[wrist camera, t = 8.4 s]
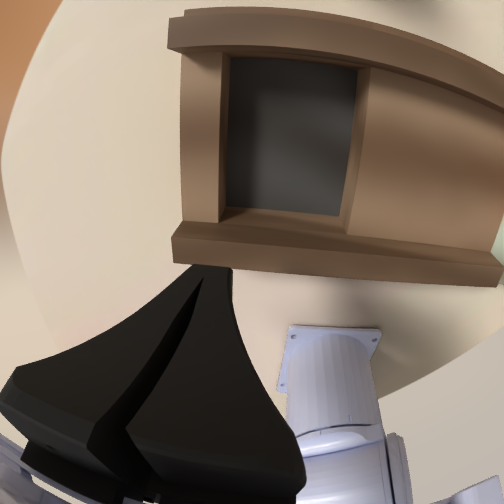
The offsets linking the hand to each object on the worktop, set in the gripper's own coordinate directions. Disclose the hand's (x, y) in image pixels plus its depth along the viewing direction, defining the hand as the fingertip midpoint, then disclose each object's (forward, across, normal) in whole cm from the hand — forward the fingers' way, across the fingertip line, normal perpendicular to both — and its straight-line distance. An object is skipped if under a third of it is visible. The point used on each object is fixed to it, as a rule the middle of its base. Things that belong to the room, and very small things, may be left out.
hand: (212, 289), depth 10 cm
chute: (+9, -11, -4) cm, 15 cm away
